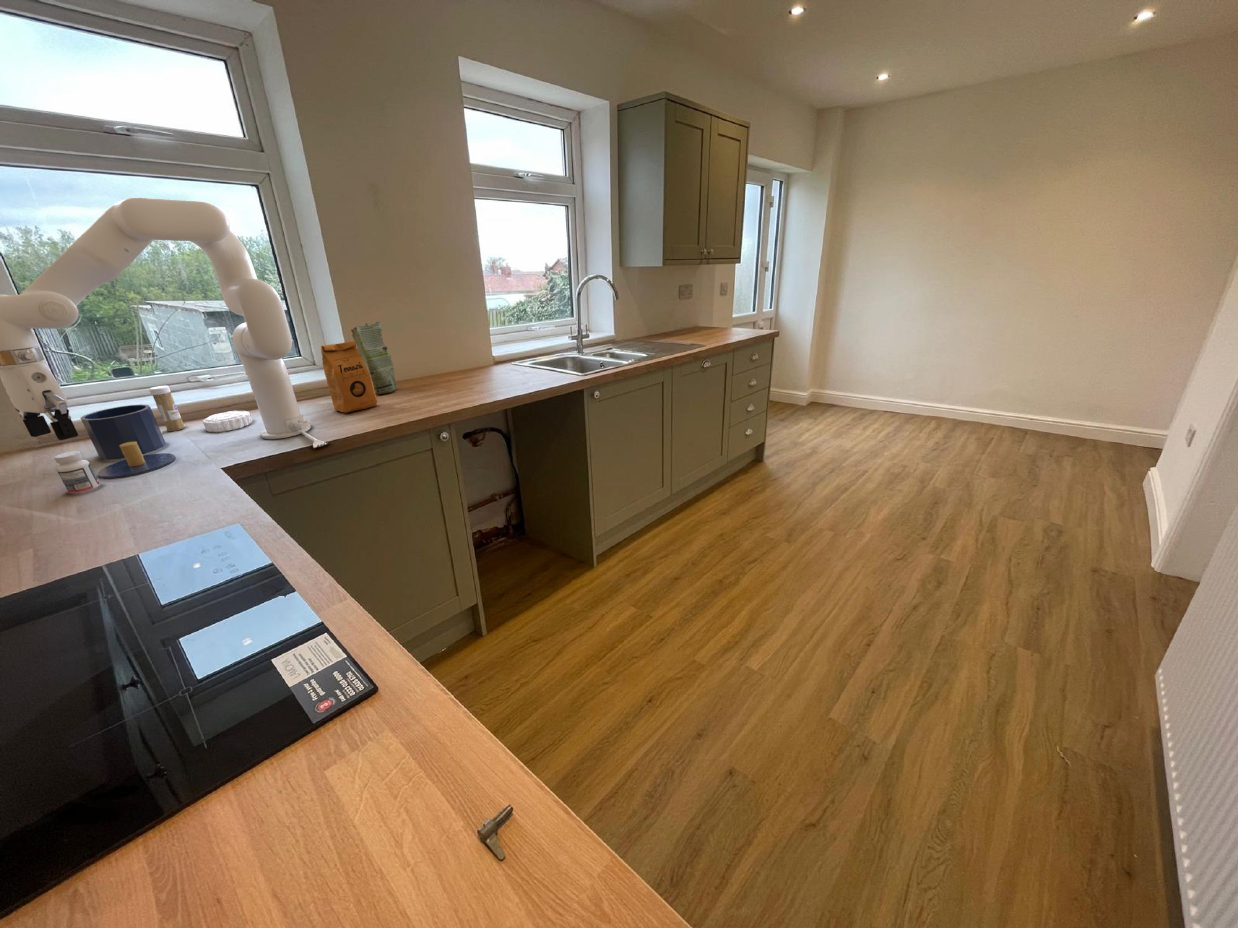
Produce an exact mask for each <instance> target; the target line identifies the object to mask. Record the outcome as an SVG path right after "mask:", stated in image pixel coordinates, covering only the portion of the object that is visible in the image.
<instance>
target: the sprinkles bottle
mask: <svg viewBox="0 0 1238 928" xmlns="http://www.w3.org/2000/svg"><path fill="white" fill-rule="evenodd" d="M149 392H150V395H151V397H153V400H154V402H155V406H156V407H157V408H156V409H157V410H158V413H159V415H160V417H161V419H162V421H163V423H164V426H165V428H166V431H167V432H177V431H180V430H183V429H185V428H186V425H185V424H184V421H183V419H182V416H181V414H180V411H179V409H178V406H177V403H176V402H175V400H174V398H173V395H172V392H171V388H170V386H169V385H157V386H153V387H150V388H149Z"/></svg>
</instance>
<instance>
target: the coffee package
mask: <svg viewBox="0 0 1238 928" xmlns="http://www.w3.org/2000/svg"><path fill="white" fill-rule="evenodd" d="M320 352H321V355H322V356H321V358H322V359H321V361H322V367H323V372H324V376H325V379H326V383H327V386H328V387H327V388H328V391H329V394H330V395H329V396H330V399H331V401H332V405H333V408H334V411H335V412H341V413H351V412H356V411H357V412H358V411H360V410H366V409H370V408H372V407H377V405H378V404H377V403H378V399H377V394H376V393H375V391H374V386H373V383H372V380H371V376H370V374H369V371H368V369H367V367H366V365H365V362H364V361H363V359H362V357H361V355H360V353H359V352H358V348H357V345H356V342H355V340H354V339H353V340H350V341H344V342H339V343H331V344H324V345H321V346H320Z"/></svg>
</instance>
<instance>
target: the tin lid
mask: <svg viewBox="0 0 1238 928" xmlns="http://www.w3.org/2000/svg"><path fill="white" fill-rule="evenodd" d="M120 448H121V450H122V452H123V454H124V457H125V458H124V460H123V459H122V460H120V461H117V462H113V463H111V464H109V465H107V466H104V467H103V468H101V469H100V470H99V471H98V472H97V477H99V478H101V479H108V480H109V479H121V478H128V477H134V476H137V475H143V474H147V473H149V472H152V471H153V472H154V471H157V470H159V469H161V468H164V467H166V466H168V465H170V464H171V463H173V462H174V461H175V460H176V456H175V454H173V453H168V452H164V453H163V452H161V453H159V452H158V453H150V454H142V453H141V450H140V448H139V446H138V444H137V442H127V443H123V444H121V445H120Z"/></svg>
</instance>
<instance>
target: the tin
mask: <svg viewBox="0 0 1238 928" xmlns="http://www.w3.org/2000/svg"><path fill="white" fill-rule="evenodd" d="M79 418H80V421H81V423H82V424H83V427H84V429H85V432H86V433H87V435H88V437H89V439H90V441H91V443H92V446H93V447H94V449H95V451H96V453H97V455H98V457H99V459H100V460H103V461H110V460H113V461H114V460H121V459H122V460H123V459H125V457H124V454H123V452H122V450H121V448H120V445H121V444H123V443H127V442H137V444H138V446H139V448H140V450H141V453H142V455H147V454H148V453H151V452H154V451H157V450H160V449H161V448H163V447H165V445H166V444H167V441H166V440H165V437H164V436H163V434H162V431H161V428H160V427H159V424H158V422H157V419H156V417H155V415H154V412H153V410H152V408H151V406H150V405H149V404H129V405H122V406H115V407H109V408H104V409H100V410H97V411H93V412H90V413H87V414H84V415H82V416H81V417H79Z"/></svg>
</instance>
